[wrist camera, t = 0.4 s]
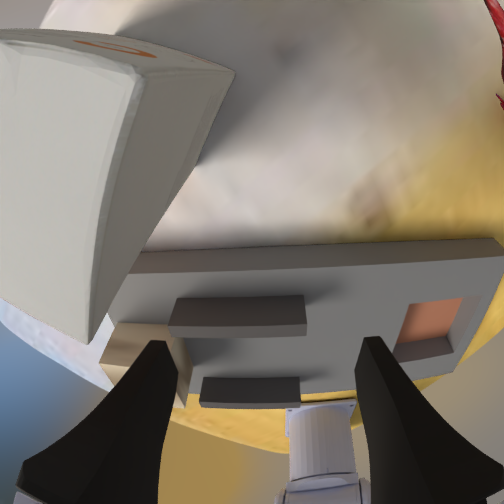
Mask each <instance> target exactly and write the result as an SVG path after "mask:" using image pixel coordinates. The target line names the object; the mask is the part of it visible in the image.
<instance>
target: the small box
mask: <svg viewBox="0 0 504 504" xmlns="http://www.w3.org/2000/svg"><path fill="white" fill-rule="evenodd" d="M234 76H235V71H233V70H231V69H228V68H226V67H223V66H221V65H218V64H216V63H213V62H210V61H208V60H205V59H202V58H199V57H196V56H193V55H190V54H187V53H184V52H181V51H178V50H174V49H171V48H168V47H164V46H160V45H157V44H153V43H149V42H145V41H141V40H137V39H132V38H127V37H122V36H116V35H108V34H100V33H91V32H79V31H67V30H53V29H0V298H2V299H3V300H5V301H7V302H8V303H10V304H12V305H13V306H15V307H17V308H18V309H20V310H22V311H23V312H25V313H27V314H28V315H30V316H32V317H34V318H36V319H37V320H39V321H41V322H43V323H45V324H47V325H48V326H50V327H52V328H54V329H56V330H58V331H60V332H62V333H64V334H66V335H68V336H69V337H71V338H73V339H75V340H77V341H79V342H81V343H83V344H85V345H88V344H89V343H90V342H91V341H92V339H93V338H94V336H95V334H96V332H97V330H98V328H99V326H100V324H101V322H102V321H103V319H104V317H105V315H106V313H107V311H108V309H109V307H110V305H111V303H112V302H113V300H114V298H115V296H116V294H117V292H118V290H119V289H120V287H121V285H122V283H123V281H124V280H125V278H126V276H127V274H128V272H129V271H130V269H131V267H132V265H133V264H134V262H135V260H136V259H137V257H138V255H139V254H140V252H141V250H142V249H143V247H144V245H145V244H146V242H147V240H148V239H149V237H150V235H151V234H152V232H153V231H154V229H155V227H156V226H157V224H158V223H159V221H160V220H161V218H162V216H163V215H164V213H165V212H166V210H167V209H168V207H169V206H170V204H171V202H172V201H173V199H174V198H175V196H176V195H177V193H178V192H179V190H180V189H181V187H182V186H183V184H184V183H185V181H186V180H187V178H188V177H189V175H190V174H191V172H192V171H193V169H194V167H195V165H196V162H197V160H198V157H199V155H200V152H201V150H202V148H203V145H204V143H205V140H206V138H207V136H208V133H209V131H210V129H211V126H212V124H213V122H214V120H215V117H216V115H217V113H218V111H219V108H220V106H221V104H222V102H223V100H224V98H225V95H226V93H227V91H228V89H229V87H230V85H231V83H232V81H233V79H234Z"/></svg>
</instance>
